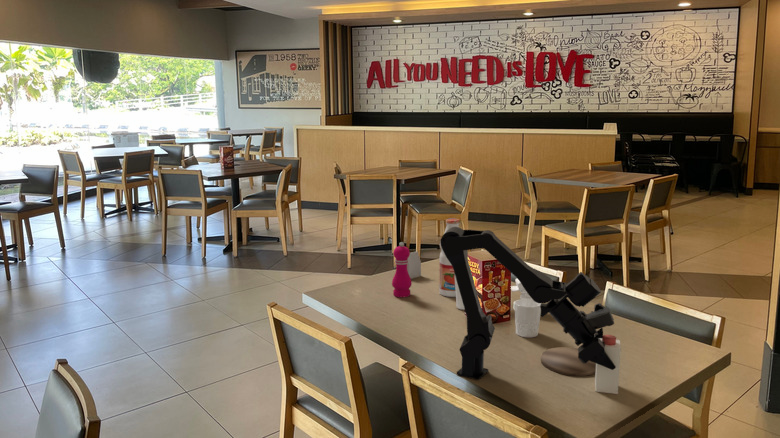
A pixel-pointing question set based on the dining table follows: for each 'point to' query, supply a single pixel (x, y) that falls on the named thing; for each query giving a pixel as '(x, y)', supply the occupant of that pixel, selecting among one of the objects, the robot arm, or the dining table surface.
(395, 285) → the pepper mill
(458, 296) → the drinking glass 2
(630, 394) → the dining table surface
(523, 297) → the character figurine
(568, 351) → the walnut serving board
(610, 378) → the square squeeze bottle
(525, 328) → the white cup
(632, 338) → the dining table surface
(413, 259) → the tea bag
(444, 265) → the fruit juice
